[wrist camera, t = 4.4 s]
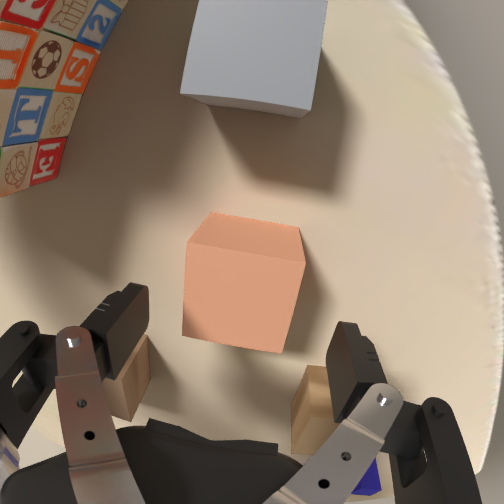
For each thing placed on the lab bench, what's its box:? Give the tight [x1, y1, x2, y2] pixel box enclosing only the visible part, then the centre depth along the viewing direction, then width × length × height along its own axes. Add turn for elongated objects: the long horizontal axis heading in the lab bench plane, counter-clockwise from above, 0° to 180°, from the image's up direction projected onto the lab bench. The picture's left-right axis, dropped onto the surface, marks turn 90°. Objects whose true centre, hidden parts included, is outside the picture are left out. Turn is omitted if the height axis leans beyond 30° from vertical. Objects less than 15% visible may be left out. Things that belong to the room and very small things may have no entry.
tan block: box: [102, 334, 151, 422], centre depth 20 cm, size 5×5×5 cm
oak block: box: [291, 365, 341, 455], centre depth 19 cm, size 5×5×5 cm
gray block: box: [180, 0, 328, 118], centre depth 11 cm, size 5×5×5 cm
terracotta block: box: [182, 212, 306, 354], centre depth 16 cm, size 5×5×5 cm
